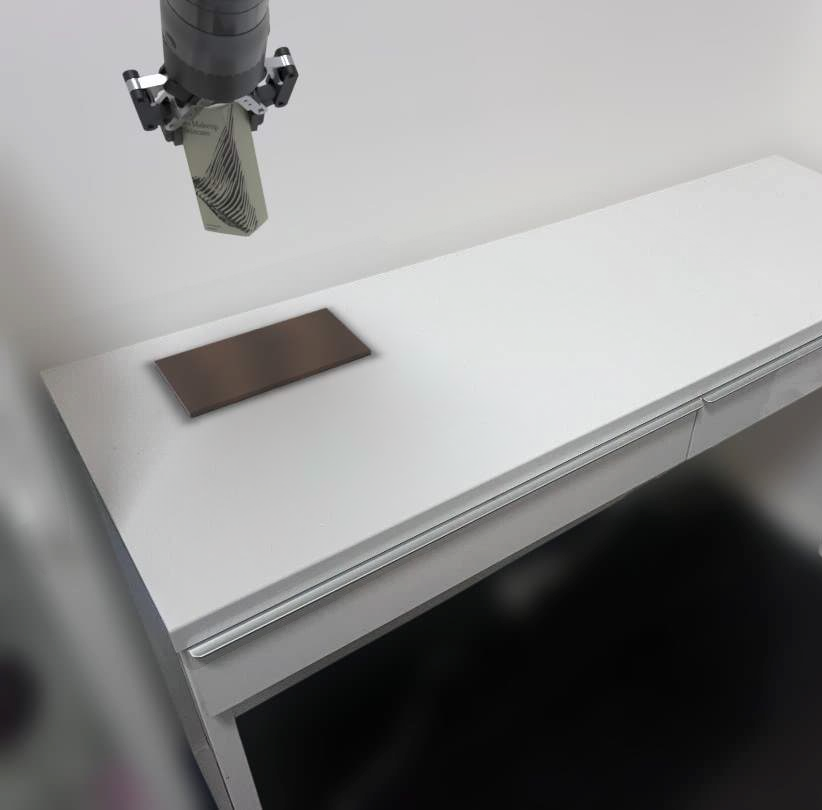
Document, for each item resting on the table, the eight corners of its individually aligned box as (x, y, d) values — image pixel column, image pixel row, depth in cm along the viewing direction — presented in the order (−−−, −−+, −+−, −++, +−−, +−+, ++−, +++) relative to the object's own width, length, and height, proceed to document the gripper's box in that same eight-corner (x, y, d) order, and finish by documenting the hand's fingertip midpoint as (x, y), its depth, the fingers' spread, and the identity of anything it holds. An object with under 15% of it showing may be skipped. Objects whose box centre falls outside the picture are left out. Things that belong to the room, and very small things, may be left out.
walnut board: (190, 417, 80) (189, 413, 80) (155, 365, 87) (153, 360, 86) (371, 354, 90) (370, 349, 90) (326, 311, 97) (326, 307, 96)
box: (203, 232, 80) (166, 102, 72) (226, 212, 83) (193, 85, 75) (252, 238, 79) (220, 107, 71) (273, 218, 82) (245, 90, 74)
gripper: (290, -30, 64) (273, 80, 79) (95, -8, 58) (117, 105, 73) (324, 58, 64) (300, 151, 79) (132, 88, 58) (147, 182, 73)
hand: (212, 129), depth 76 cm, fingers closed on box, 6 cm apart
